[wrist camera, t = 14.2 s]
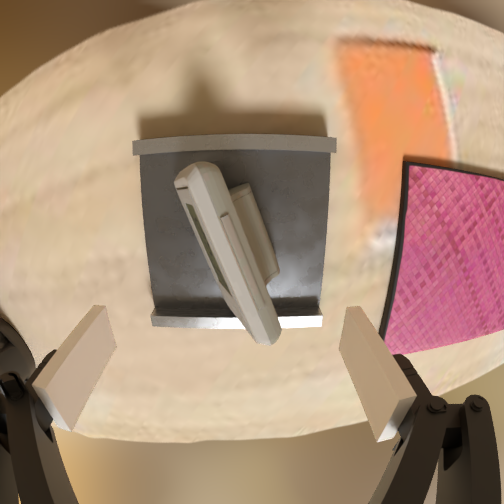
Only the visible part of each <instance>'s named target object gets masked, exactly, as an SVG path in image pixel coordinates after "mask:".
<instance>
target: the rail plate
mask: <svg viewBox="0 0 504 504" xmlns="http://www.w3.org/2000/svg"><path fill="white" fill-rule="evenodd" d="M336 140H337V138H332V137H319V136H304V135H282V134H215V135H193V136H178V137H165V138H155V139H145V140H136V141H133V156H134V155H140V176H141V193H142V207H143V219H144V230H145V240H146V249H147V257H148V265H149V272H150V279H151V286H152V292H153V299H154V305H155V308H154V310H153V312H152V314H151V321H152V326H157V327H178V328H214V329H245V328H244V326H243V325H242V324H241V322H240V321H239V320H238V318H237V317H236V316H235V314H234V313H233V312H232V310H231V309H230V308H229V306H228V305H227V303H226V301H225V300H224V297H223V295H222V293H221V291H220V289H219V287H218V284H217V282H216V280H215V278H214V276H213V274H212V271H211V269H210V267H209V265H208V263H207V260H206V258H205V256H204V254H203V251H202V249H201V247H200V245H199V242H198V240H197V238H196V235H195V233H194V231H193V228H192V226H191V224H190V222H189V219H188V217H187V214H186V212H185V210H184V207H183V205H182V203H181V200H180V198H179V195H178V193H177V190H176V188H175V185H174V180H175V179H176V177H177V175H178V174H179V172H180V171H182V170H183V169H185V168H186V167H188V166H189V165H191V164H193V163H196V162H203V161H205V162H209V163H212V164H215V165H216V166H217V167H218V168H219V169H220V171H221V173H222V176H223V178H224V181H225V183H226V186H227V188H228V190H229V189H231V188H234V187H237V186H239V185H242V184H245V183H249V185H250V187H251V190H252V193H253V195H254V198H255V201H256V203H257V206H258V209H259V211H260V214H261V217H262V220H263V222H264V225H265V228H266V230H267V233H268V236H269V239H270V241H271V244H272V247H273V250H274V252H275V255H276V258H277V261H278V265H279V268H280V273H279V275H278V276H277V277H275V278H274V279H272V280H271V281H270V282H269V283H268V284H267V286H266V288H267V290H268V293H269V295H270V298H271V301H272V303H273V306H274V308H275V311H276V313H277V316H278V319H279V321H280V324H281V327H282V328H295V327H316V326H321V325H322V318H323V315H322V312H321V310H320V308H319V303H320V295H321V286H322V277H323V267H324V256H325V245H326V233H327V219H328V203H329V183H330V153H336Z"/></svg>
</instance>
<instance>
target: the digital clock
mask: <svg viewBox="0 0 504 504" xmlns="http://www.w3.org/2000/svg"><path fill="white" fill-rule="evenodd" d="M174 185H175V188H176V190H177V193H178V195H179V198H180V200H181V203H182V205H183V207H184V210H185V212H186V214H187V217H188V219H189V222H190V224H191V226H192V228H193V231H194V233H195V235H196V238H197V240H198V242H199V245H200V247H201V249H202V251H203V254H204V256H205V258H206V260H207V263H208V265H209V267H210V269H211V271H212V274H213V276H214V278H215V280H216V282H217V284H218V287H219V289H220V291H221V293H222V295H223V297H224V300H225V301H226V303H227V305H228V306H229V308H230V309H231V310H232V312H233V313H234V314H235V316H236V317H237V318H238V320H239V321H240V322H241V324H242V325H243V326H244V328H245V329H246V330H247V331H248V333H249V334H250V335H251V337H252V338H253V339H254V340H255V342H256V343H259V344H263V345H272V344H274V343H275V342H276V341H277V340H278V338H279V336H280V334H281V330H282V327H281V324H280V321H279V319H278V316H277V313H276V311H275V308H274V306H273V303H272V301H271V298H270V295H269V293H268V290H267V288H266V286H267V284H268V283H269V282H270V281H271V280H272V279H274V278H275V277H277V276H278V275H279V273H280V268H279V265H278V261H277V258H276V255H275V252H274V250H273V247H272V244H271V241H270V239H269V236H268V233H267V230H266V228H265V225H264V222H263V220H262V217H261V214H260V211H259V209H258V206H257V203H256V201H255V198H254V195H253V193H252V190H251V187H250V185H249V183H245V184H242V185H239V186H237V187H234V188H231V189H229V190H228V188H227V186H226V183H225V181H224V178H223V176H222V173H221V171H220V169H219V168H218V167H217V166H216V165H215V164H212V163H209V162H205V161H203V162H196V163H193V164H191V165H189V166H188V167H186V168H185V169H183V170H182V171H180V172H179V174H178V175H177V177H176V179H175V180H174Z"/></svg>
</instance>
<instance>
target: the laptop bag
mask: <svg viewBox="0 0 504 504" xmlns="http://www.w3.org/2000/svg"><path fill="white" fill-rule="evenodd" d="M503 329H504V180H503V179H499V178H495V177H490V176H486V175H482V174H477V173H472V172H467V171H462V170H457V169H452V168H446V167H440V166H434V165H428V164H421V163H414V162H406V161H403V171H402V189H401V203H400V214H399V223H398V232H397V240H396V248H395V255H394V262H393V268H392V274H391V280H390V285H389V290H388V295H387V300H386V305H385V309H384V314H383V318H382V322H381V326H380V331H379V335H380V337H381V338H382V340H383V341H384V343H385V345H386V346H387V348H388V349H389V351H390V352H391V354H392V355H394V354H400V353H401V354H408V353H413V352H418V351H423V350H428V349H433V348H438V347H442V346H446V345H451V344H455V343H459V342H463V341H467V340H470V339H474V338H477V337H481V336H484V335H488V334H491V333H494V332H497V331H500V330H503Z"/></svg>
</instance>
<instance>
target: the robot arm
mask: <svg viewBox="0 0 504 504" xmlns="http://www.w3.org/2000/svg"><path fill="white" fill-rule="evenodd" d="M116 347H117V346H116V342H115V339H114V336H113V332H112V328H111V325H110V321H109V317H108V313H107V310H106V306H99V305H94V306H93V307H92V308H91V309H90V311H89V312H88V313H87V314H86V315H85V316H84V318H83V319H82V320H81V321H80V322H79V324H78V325H77V326H76V327H75V329H74V330H73V331H72V332H71V334H70V335H69V336H68V337H67V339H66V340H65V341H64V342H63V344H62V345H61V346H60V347H59V349H58V350H55V349H54V350H53V351H52V352H50V353H49V354H47V355H46V357H45V358H44V359H43V360H42V363H40V364H39V366H38V368H35V363H34V360H33V357H32V355H31V353H30V351H29V349H28V347H27V346H26V344H25V343H24V341H23V340H22V338H21V337H20V336H19V335H18V333H17V332H16V331H15V330H14V329H13V328H12V327H11V326H10V325H9V324H8V323H7V322H5V321H4V320H3V319H1V318H0V504H19V500H18V494H19V497H20V501H21V504H79V503H78V501H77V498H76V496H75V494H74V492H73V489H72V486H71V484H70V481H69V478H68V476H67V473H66V470H65V467H64V464H63V461H62V458H61V455H60V452H59V448H58V445H57V441H56V438H55V434H54V431H53V428H52V426H51V423H52V421H53V420H54V422H55V423H56V425H57V426H58V427H59V428H61V429H64V430H67V431H70V432H72V430H73V428H74V426H75V424H76V422H77V420H78V418H79V416H80V414H81V412H82V410H83V408H84V406H85V404H86V402H87V400H88V398H89V396H90V394H91V393H92V391H93V389H94V387H95V385H96V383H97V381H98V379H99V378H100V376H101V374H102V372H103V370H104V368H105V367H106V365H107V363H108V361H109V359H110V358H111V356H112V354H113V352H114V350H115V349H116ZM339 351H340V353H341V355H342V358H343V360H344V362H345V365H346V367H347V369H348V372H349V374H350V376H351V379H352V381H353V384H354V386H355V388H356V391H357V393H358V396H359V398H360V401H361V403H362V406H363V408H364V411H365V413H366V416H367V418H368V421H369V423H370V425H371V428H372V431H373V433H374V436H375V439H376V441H377V442H380V441H383V440H387V439H392V438H393V437H394V436H395V434H396V432H397V431H399V434H400V436H401V438H400V439H399V441H398V442H397V444H396V445H395V447H394V448H393V450H394V453H393V455H392V457H391V460H390V462H389V464H388V466H387V468H386V470H385V472H384V474H383V476H382V479H381V481H380V483H379V485H378V487H377V488H376V490H375V492H374V494H373V496H372V498H371V500H370V501H369V503H368V504H423V503H424V500H425V498H426V495H427V492H428V490H429V486H430V484H431V481H432V478H433V475H434V472H435V468H436V465H437V462H438V482H437V495H436V504H501V481H500V469H499V459H498V451H497V444H496V438H495V432H494V426H493V421H492V416H491V411H490V407H489V404H488V402H487V401H486V399H484V398H483V397H481V396H479V395H470V396H469V397H467V398H466V400H465V402H464V403H463V404H448V403H447V402H446V401H445V400H444V399H443V398H440V397H438V396H432V394H431V393H430V391H429V390H428V388H427V387H426V385H425V384H424V382H423V380H422V379H421V377H420V376H419V374H417V371H416V370H415V368H413V365H412V364H411V362H410V361H409V359H407V358H406V357H405V356H403V355H402V354H401V353H400V354H394V355H392V354H391V352H390V351H389V349H388V348H387V346H386V345H385V343H384V341H383V340H382V338H381V337H380V335H379V334H378V332H377V331H376V329H375V328H374V326H373V325H372V323H371V322H370V320H369V319H368V317H367V316H366V314H365V313H364V311H363V310H362V308H361V307H360V306H355V307H347V308H346V314H345V319H344V325H343V330H342V335H341V340H340V345H339Z"/></svg>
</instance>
